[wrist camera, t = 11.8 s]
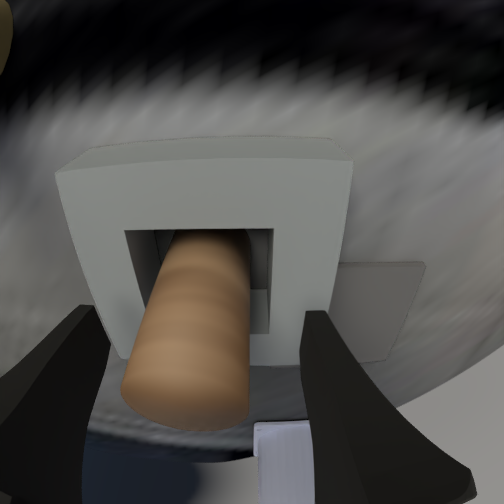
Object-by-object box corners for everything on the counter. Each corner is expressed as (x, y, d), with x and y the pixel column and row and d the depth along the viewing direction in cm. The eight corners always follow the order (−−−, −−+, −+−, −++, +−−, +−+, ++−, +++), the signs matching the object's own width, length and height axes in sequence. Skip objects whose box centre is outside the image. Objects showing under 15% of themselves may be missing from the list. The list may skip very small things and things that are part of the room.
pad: (384, 355, 19) (385, 360, 19) (269, 363, 19) (270, 368, 19) (423, 261, 15) (426, 266, 14) (275, 263, 15) (276, 268, 14)
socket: (308, 321, 17) (315, 363, 14) (134, 318, 17) (120, 358, 14) (331, 139, 11) (353, 161, 9) (90, 148, 11) (54, 172, 9)
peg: (252, 276, 15) (253, 432, 8) (180, 279, 15) (145, 426, 9) (247, 209, 13) (243, 372, 6) (166, 214, 13) (99, 366, 7)
